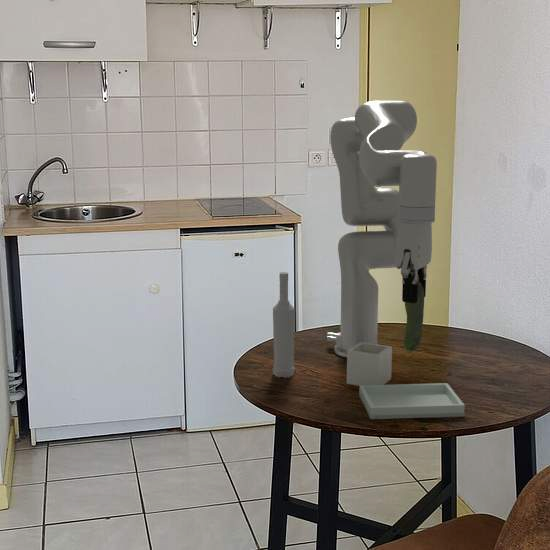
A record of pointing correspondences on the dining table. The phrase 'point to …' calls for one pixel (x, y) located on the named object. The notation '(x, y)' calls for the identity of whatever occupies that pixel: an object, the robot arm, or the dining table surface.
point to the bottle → (283, 332)
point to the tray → (410, 401)
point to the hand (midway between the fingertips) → (413, 298)
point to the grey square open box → (369, 364)
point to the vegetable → (414, 320)
